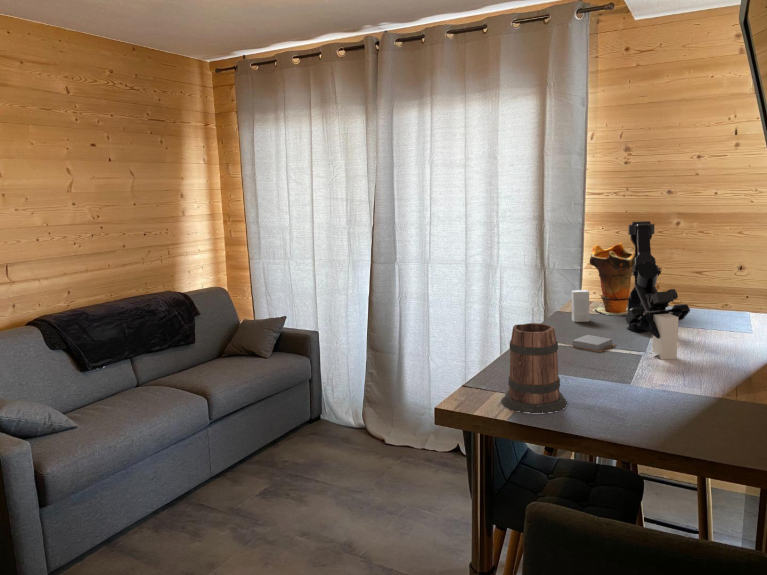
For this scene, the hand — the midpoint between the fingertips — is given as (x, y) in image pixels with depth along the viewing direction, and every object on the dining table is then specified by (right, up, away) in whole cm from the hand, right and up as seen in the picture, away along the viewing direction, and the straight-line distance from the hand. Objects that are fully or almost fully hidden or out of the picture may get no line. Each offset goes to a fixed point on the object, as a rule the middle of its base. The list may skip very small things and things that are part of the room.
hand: (667, 337), depth 186 cm
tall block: (0, -6, +3) cm, 7 cm away
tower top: (-18, -4, +14) cm, 23 cm away
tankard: (-46, -14, -26) cm, 55 cm away
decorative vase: (+9, +5, +67) cm, 68 cm away
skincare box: (-9, +2, +53) cm, 54 cm away
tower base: (-18, -6, +15) cm, 24 cm away
